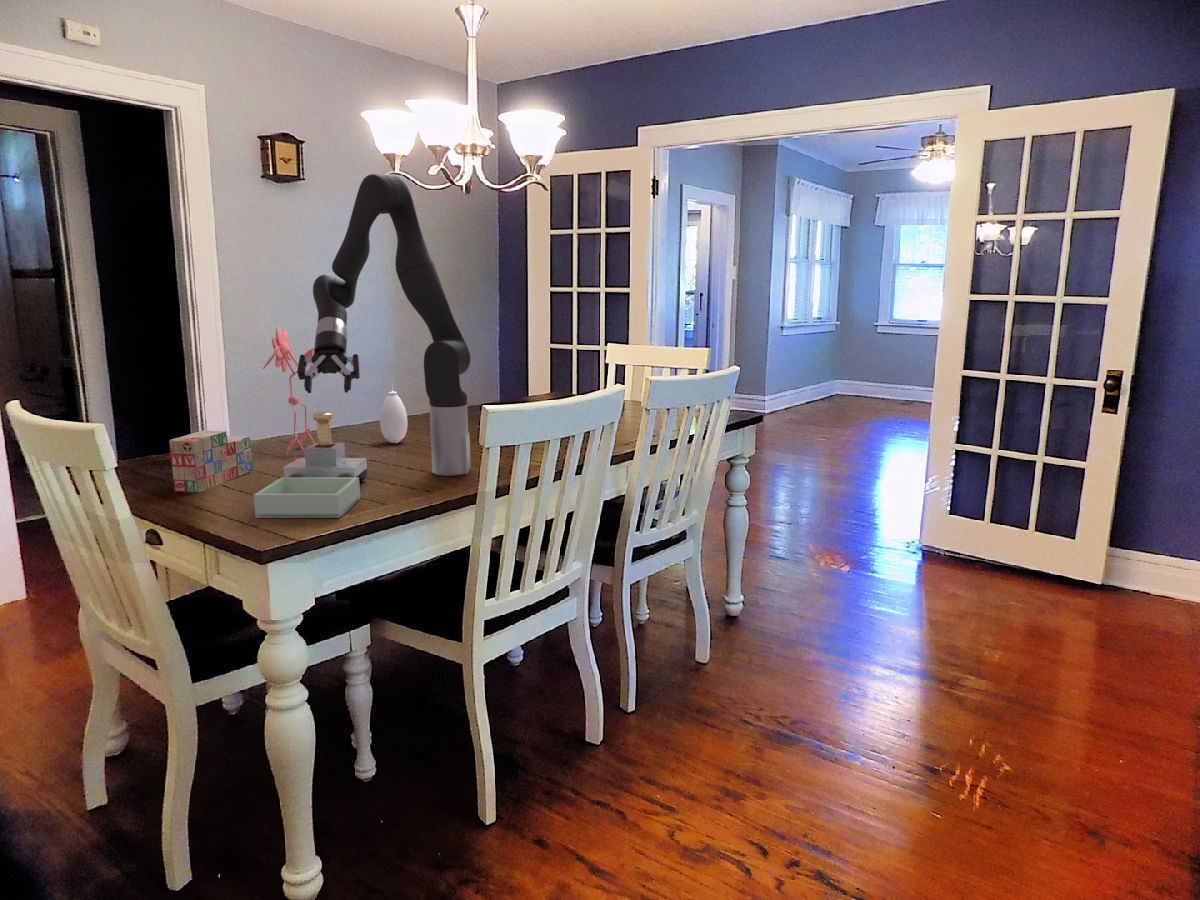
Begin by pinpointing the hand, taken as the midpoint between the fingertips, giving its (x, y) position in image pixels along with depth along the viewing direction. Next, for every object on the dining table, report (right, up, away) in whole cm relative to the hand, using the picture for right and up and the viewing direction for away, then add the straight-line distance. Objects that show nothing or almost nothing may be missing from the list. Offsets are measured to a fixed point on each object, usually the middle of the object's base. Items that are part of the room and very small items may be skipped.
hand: (327, 390), depth 195 cm
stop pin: (+2, -17, -7) cm, 18 cm away
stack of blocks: (-27, -22, +1) cm, 35 cm away
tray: (+4, -27, -23) cm, 35 cm away
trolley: (+2, -23, -5) cm, 24 cm away
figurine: (-23, -15, +35) cm, 44 cm away
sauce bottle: (+4, -12, +48) cm, 49 cm away
